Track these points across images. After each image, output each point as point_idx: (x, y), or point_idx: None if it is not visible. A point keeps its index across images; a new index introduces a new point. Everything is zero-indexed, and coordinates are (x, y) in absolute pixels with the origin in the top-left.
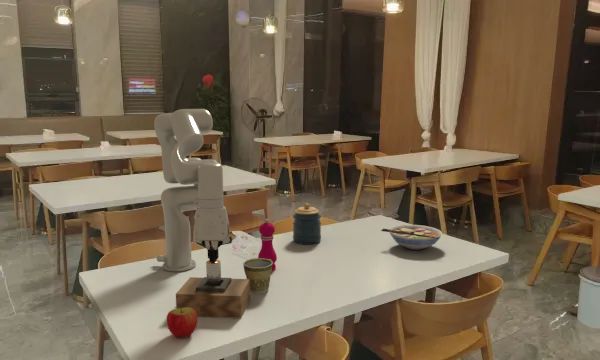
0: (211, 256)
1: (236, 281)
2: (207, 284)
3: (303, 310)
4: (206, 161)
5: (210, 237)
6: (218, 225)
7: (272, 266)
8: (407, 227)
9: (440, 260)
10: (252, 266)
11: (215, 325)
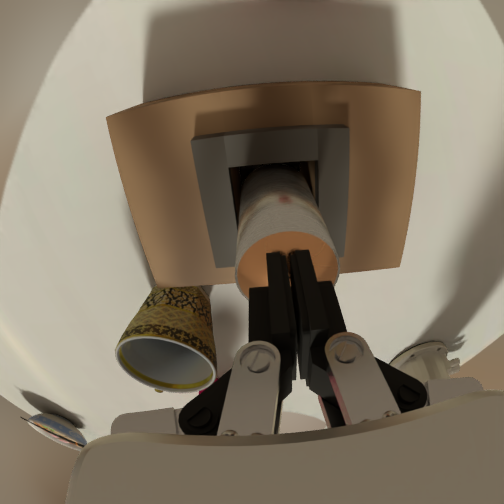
0: (295, 282)
1: (196, 261)
2: (303, 179)
3: (25, 208)
4: None
5: (315, 486)
6: None
7: (201, 391)
8: (79, 447)
9: (17, 388)
10: (202, 366)
11: (209, 29)
